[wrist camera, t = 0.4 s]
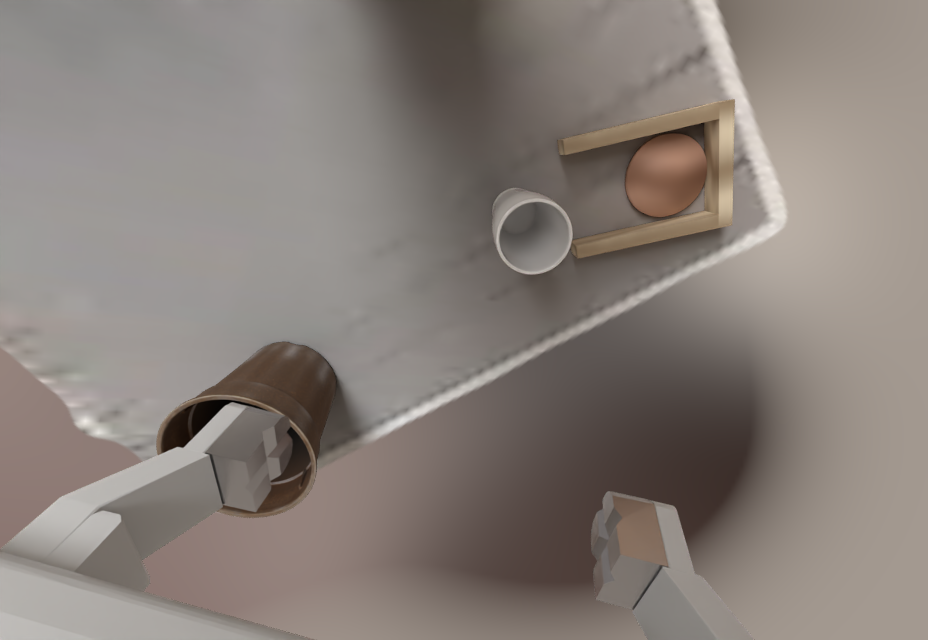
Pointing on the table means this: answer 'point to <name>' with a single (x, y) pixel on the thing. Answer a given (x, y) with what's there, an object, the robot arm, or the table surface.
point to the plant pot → (275, 390)
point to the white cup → (530, 231)
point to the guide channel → (668, 175)
